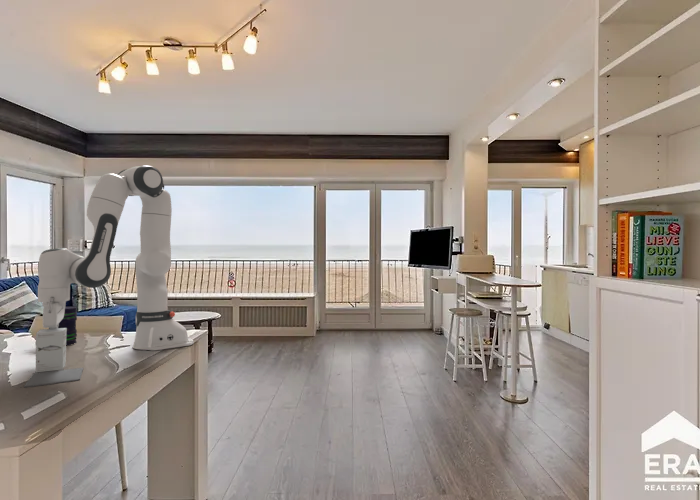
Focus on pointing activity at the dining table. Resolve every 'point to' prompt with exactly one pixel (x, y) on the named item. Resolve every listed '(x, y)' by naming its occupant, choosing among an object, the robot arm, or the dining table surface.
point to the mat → (54, 377)
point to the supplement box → (50, 349)
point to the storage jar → (69, 324)
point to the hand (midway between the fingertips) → (53, 336)
